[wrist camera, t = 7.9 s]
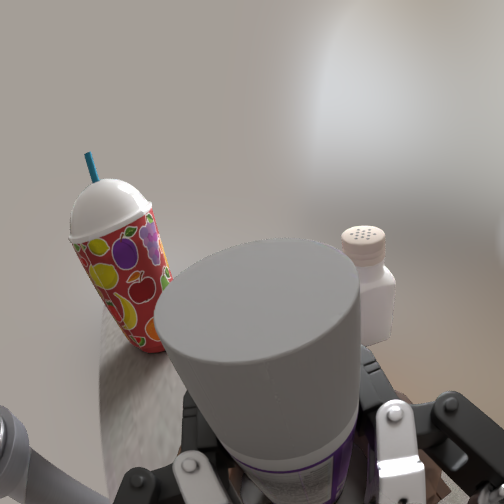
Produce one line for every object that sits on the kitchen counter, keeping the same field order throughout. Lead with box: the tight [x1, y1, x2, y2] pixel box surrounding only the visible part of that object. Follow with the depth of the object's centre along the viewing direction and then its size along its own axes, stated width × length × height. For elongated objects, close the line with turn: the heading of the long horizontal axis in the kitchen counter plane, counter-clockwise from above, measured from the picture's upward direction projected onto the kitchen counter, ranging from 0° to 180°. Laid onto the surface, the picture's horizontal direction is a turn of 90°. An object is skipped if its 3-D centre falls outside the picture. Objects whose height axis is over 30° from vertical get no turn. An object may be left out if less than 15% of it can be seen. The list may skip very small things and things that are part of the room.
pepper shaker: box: [341, 226, 396, 347], centre depth 21 cm, size 4×4×10 cm
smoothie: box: [69, 152, 173, 353], centre depth 24 cm, size 8×8×20 cm
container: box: [154, 238, 361, 504], centre depth 9 cm, size 5×5×15 cm
